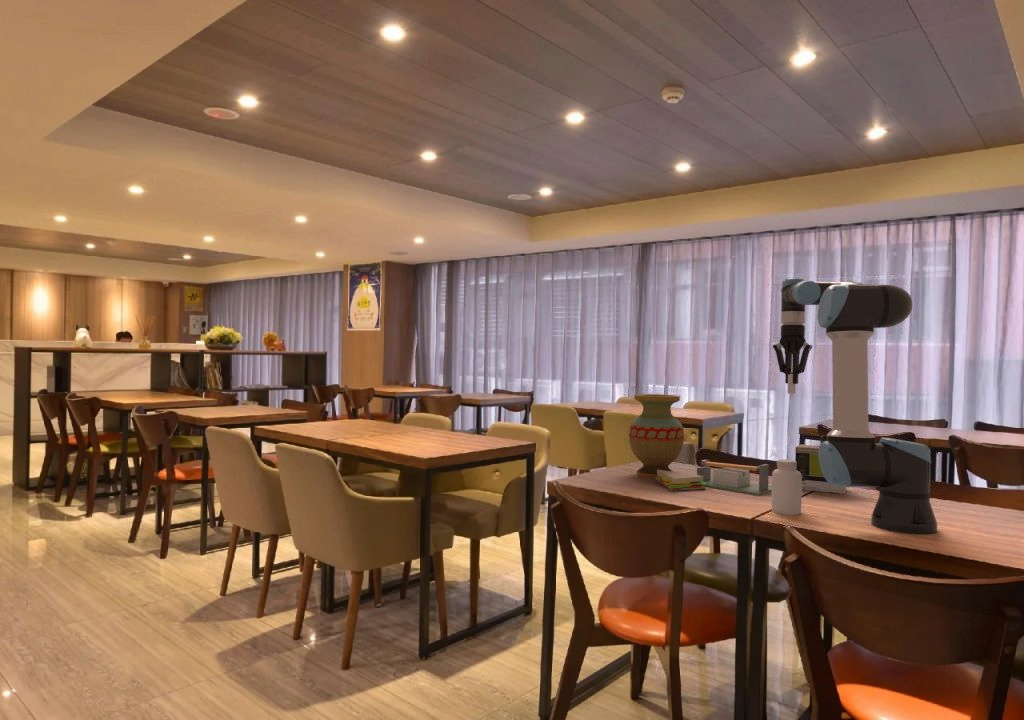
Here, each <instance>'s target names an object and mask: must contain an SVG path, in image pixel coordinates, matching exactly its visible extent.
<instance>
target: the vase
mask: <svg viewBox="0 0 1024 720" xmlns="http://www.w3.org/2000/svg"><path fill="white" fill-rule="evenodd" d="M680 397H681V396H680V395H677V394H676V395H673V394H653V393H651V394H650V393H648V394H647V393H641V394H640V393H639V394H634V397H633V398H634V400H635V401H638V402H639V403H640V404H641V405H642V411H641V413H640V415H638V416H637V417H636V418H635V419H634V420H633V421H631V423H630V426H629V429H628V442H629V445H630V449H631V450H632V453H633V455H634V456H635V457H636V458H637V459H638V461H640V463H641V464H642V467H640V468H638V469H637V470H636V475H637V476H639V477H643V478H649V479H656V477H658V476H657V475H658V474H657V469H658V470H664V471H671V472H674V471H673V470H672V469H671V468H669V466H670V465H671V464H672V463H673V462H674V461H675V460H676V459H677V458H678V457H679V455H680V454H681V452H682V449H683V445H684V442H685V440H684V439H685V431H684V430H685V429H684V427H683V425H682V423H681V422H680V421H679V420H678V419H677V418H676V417H675V416H674V415H673V414H672V410H671V409H672V408H671V407H672V405H674V404H676V403H678V402H679V401H680V400H681V398H680ZM680 402H681V401H680Z"/></svg>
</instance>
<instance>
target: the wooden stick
mask: <svg viewBox="0 0 1024 720" xmlns="http://www.w3.org/2000/svg"><path fill="white" fill-rule="evenodd" d="M698 466H699V467H704V466H705V467H715V468H716V467H717V468H734V469H742V470H749V471H752V472H753V471H754V472H757V471H759V469H757V466H755V465H754V466H753V465H743V464H736V463H735V464H734V463H725V462H715V461H710V460H709V459H704V460H703V459H701V460H699V461H698Z"/></svg>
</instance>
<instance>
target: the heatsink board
mask: <svg viewBox="0 0 1024 720" xmlns="http://www.w3.org/2000/svg"><path fill="white" fill-rule="evenodd" d="M711 467H712V466H704V467H700V466H699V467H697V468H696V475H699V476H703V481H700V482H705V483H708V484H702V486H703V487H705V488H710V489H711V488H712V489H716V490H723V491H728V492H734V493H739V494H745V495H751V496H756V497H757V496H762V495H767V494H770V493H771V494H772V485H770V484H769V470H770V469H769V468H770V467H769V464H767V463H764V464H759V465H757V466H756V467H757V469H759V470H758V471H759V473H758V474H759V477H758V479H759V481H758V483H755V482H751V475H750V471H751V470H743V469H734V468H724V467H720V468H717V469H716V468H715V469H713V474H712V476H711V471H712V468H711Z"/></svg>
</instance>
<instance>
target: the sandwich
mask: <svg viewBox="0 0 1024 720" xmlns="http://www.w3.org/2000/svg"><path fill="white" fill-rule="evenodd" d="M657 474H658V475H657V476H658V477H656V478H655V479H656V481H657V482H659V483H660V484H661V485H663V486H664V487H667V489H669V490H670V491H686V490H701V489H703V490H704V489H705V488H706V487H704V486H702V484H708V483H705V482H700V481H703V476H699V475H697V474H690V473H684V472H677V471H673V472H671V471H664V470H658V469H657Z"/></svg>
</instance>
